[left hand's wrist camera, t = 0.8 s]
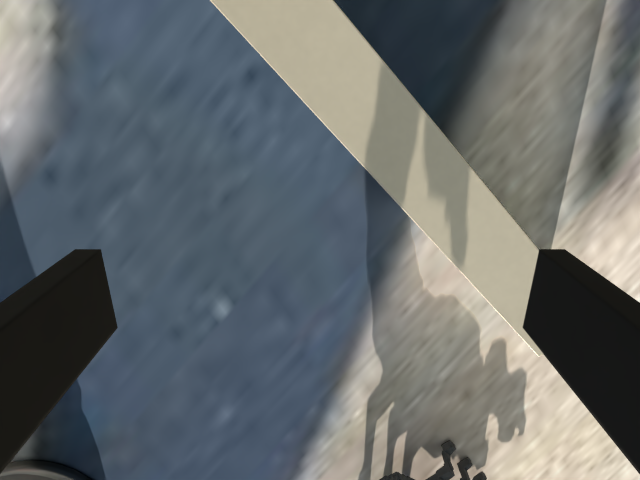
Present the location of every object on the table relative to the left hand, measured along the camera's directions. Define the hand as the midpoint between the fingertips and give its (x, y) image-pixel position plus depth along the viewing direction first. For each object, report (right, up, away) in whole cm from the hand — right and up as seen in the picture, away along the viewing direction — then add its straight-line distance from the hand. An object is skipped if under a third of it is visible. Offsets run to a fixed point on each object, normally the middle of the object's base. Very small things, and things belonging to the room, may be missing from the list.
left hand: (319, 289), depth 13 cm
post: (+2, +13, +20) cm, 24 cm away
